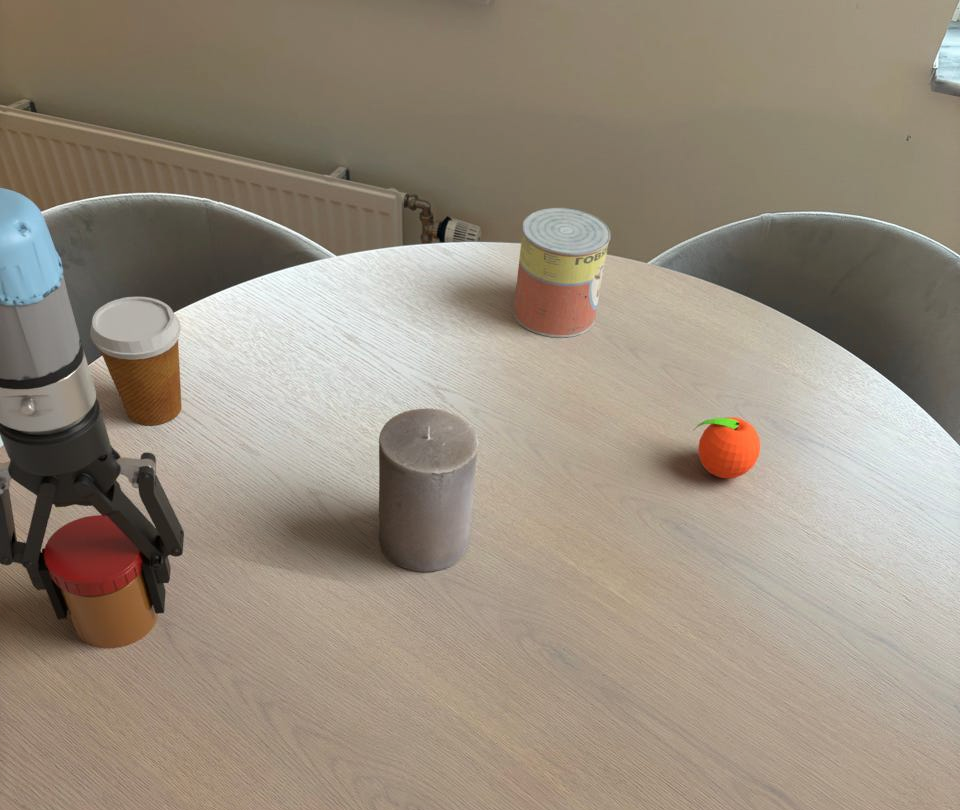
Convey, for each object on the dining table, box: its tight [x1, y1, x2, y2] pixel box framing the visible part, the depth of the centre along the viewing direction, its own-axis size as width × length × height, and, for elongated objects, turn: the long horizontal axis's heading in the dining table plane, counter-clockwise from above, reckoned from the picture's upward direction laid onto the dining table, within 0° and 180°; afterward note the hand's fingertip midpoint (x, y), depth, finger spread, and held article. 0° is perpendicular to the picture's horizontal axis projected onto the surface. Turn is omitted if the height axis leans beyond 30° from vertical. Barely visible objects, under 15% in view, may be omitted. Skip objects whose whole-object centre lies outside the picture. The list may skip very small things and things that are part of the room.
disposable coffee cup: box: [89, 296, 182, 426], centre depth 111 cm, size 10×10×12 cm
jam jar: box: [59, 569, 159, 649], centre depth 90 cm, size 8×8×10 cm
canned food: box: [512, 207, 611, 339], centre depth 129 cm, size 11×11×12 cm
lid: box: [44, 514, 144, 596], centre depth 86 cm, size 8×8×2 cm
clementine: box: [692, 416, 761, 479], centre depth 113 cm, size 8×7×7 cm
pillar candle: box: [378, 408, 479, 573], centre depth 99 cm, size 10×10×15 cm
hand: (112, 605), depth 92 cm, fingers closed on lid, 8 cm apart
